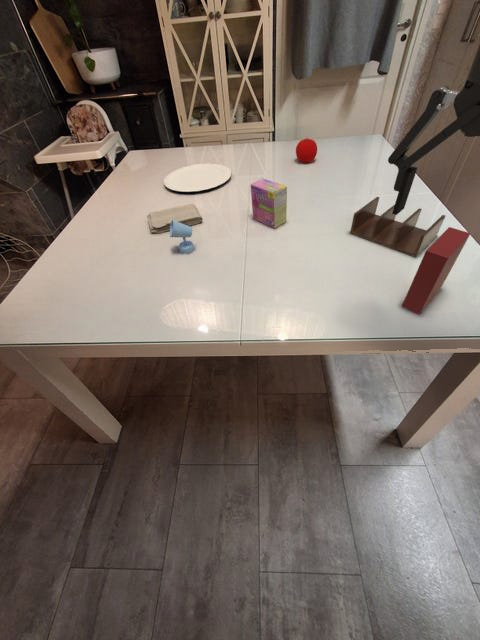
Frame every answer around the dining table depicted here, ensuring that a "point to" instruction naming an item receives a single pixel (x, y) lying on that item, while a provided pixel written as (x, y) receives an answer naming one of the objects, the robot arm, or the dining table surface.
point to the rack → (393, 229)
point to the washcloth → (173, 217)
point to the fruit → (306, 150)
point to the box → (269, 202)
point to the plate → (197, 177)
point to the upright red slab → (434, 269)
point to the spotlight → (182, 231)
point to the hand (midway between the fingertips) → (441, 223)
